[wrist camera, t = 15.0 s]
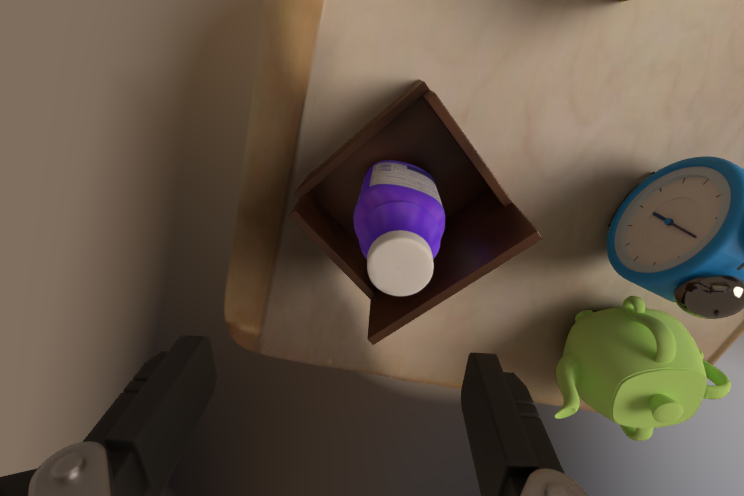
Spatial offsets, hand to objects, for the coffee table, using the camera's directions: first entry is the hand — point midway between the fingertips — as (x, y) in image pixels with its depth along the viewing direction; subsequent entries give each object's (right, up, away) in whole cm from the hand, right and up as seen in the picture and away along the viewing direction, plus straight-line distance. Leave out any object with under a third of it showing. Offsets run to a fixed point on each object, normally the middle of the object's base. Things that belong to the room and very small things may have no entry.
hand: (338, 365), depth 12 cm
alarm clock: (+32, +8, +31) cm, 45 cm away
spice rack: (+4, +11, +30) cm, 33 cm away
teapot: (+31, -8, +39) cm, 50 cm away
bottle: (+4, +10, +27) cm, 29 cm away
